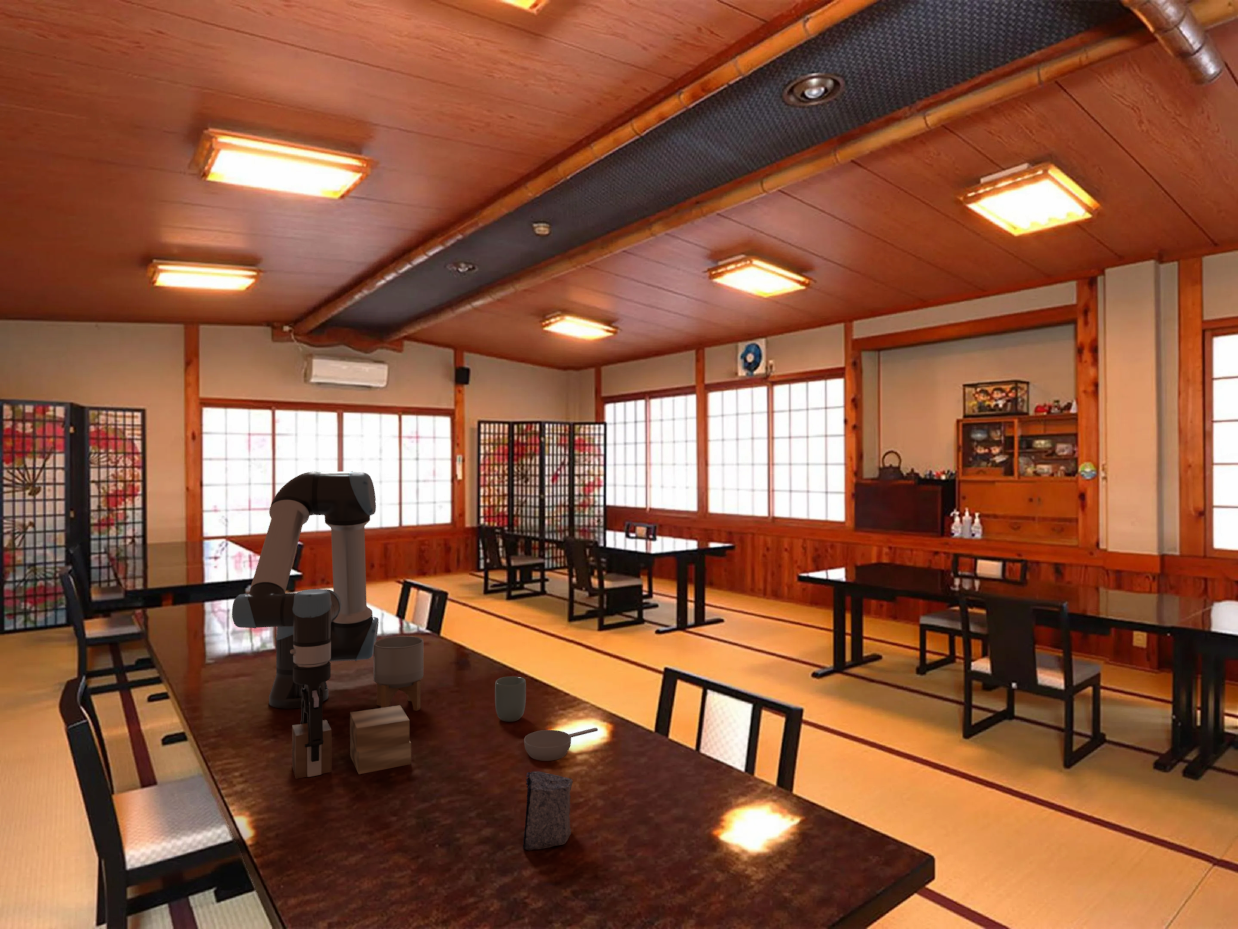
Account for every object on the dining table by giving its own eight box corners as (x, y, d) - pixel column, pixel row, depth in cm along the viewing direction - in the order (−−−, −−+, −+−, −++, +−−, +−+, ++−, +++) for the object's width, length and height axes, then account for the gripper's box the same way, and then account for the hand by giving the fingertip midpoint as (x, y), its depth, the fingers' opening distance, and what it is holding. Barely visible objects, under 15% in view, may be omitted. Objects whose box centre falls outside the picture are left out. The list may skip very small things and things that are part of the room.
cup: (519, 725, 183) (519, 686, 183) (490, 723, 185) (490, 684, 185) (529, 715, 191) (529, 677, 191) (501, 713, 192) (501, 675, 192)
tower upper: (350, 734, 164) (350, 712, 164) (399, 726, 169) (399, 705, 169) (356, 751, 154) (356, 728, 154) (409, 742, 159) (409, 720, 159)
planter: (432, 702, 201) (432, 638, 201) (404, 717, 188) (404, 649, 188) (393, 697, 205) (393, 634, 205) (362, 712, 193) (363, 645, 193)
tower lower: (350, 757, 164) (350, 735, 164) (399, 748, 169) (399, 726, 169) (358, 775, 154) (358, 752, 154) (410, 765, 160) (411, 742, 160)
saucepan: (517, 749, 168) (517, 733, 168) (587, 736, 177) (587, 720, 177) (534, 767, 159) (534, 749, 159) (607, 752, 167) (607, 735, 167)
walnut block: (292, 766, 158) (292, 725, 158) (326, 760, 161) (326, 720, 161) (295, 778, 152) (296, 736, 152) (331, 771, 155) (331, 730, 155)
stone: (510, 860, 124) (516, 815, 134) (566, 868, 125) (569, 823, 135) (522, 805, 121) (528, 763, 130) (580, 814, 122) (582, 772, 131)
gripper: (287, 653, 164) (287, 754, 164) (299, 677, 146) (298, 790, 146) (323, 649, 167) (322, 748, 167) (338, 672, 150) (337, 782, 150)
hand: (311, 767), depth 157 cm, fingers open, 8 cm apart
